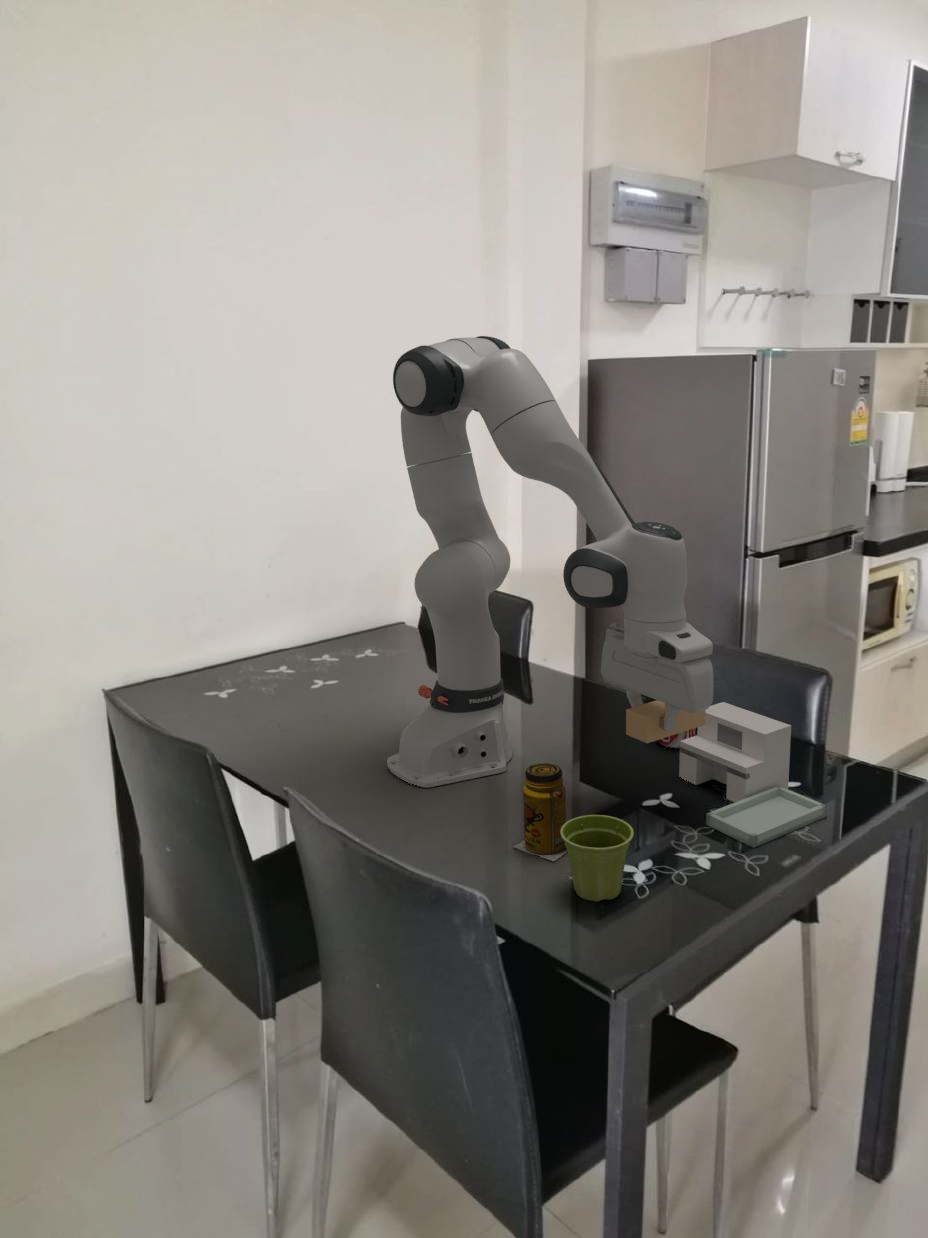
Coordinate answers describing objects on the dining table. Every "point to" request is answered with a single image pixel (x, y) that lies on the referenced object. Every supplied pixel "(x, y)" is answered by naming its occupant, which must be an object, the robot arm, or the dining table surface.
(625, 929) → the dining table surface
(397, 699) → the dining table surface
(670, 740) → the soda can
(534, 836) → the condiment
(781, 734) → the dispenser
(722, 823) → the tray
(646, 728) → the brown shipping carton
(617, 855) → the plant pot
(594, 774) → the dining table surface
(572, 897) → the dining table surface
